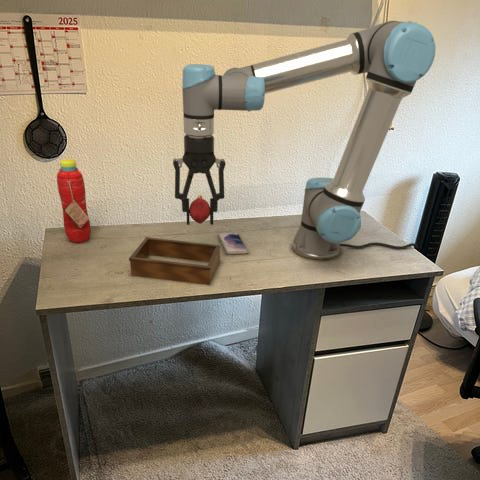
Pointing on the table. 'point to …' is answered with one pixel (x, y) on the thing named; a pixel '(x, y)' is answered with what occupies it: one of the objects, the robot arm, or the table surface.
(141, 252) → the wooden box frame
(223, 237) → the smartphone
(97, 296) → the table surface
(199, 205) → the pomegranate
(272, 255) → the table surface
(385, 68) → the robot arm
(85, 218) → the water bottle
